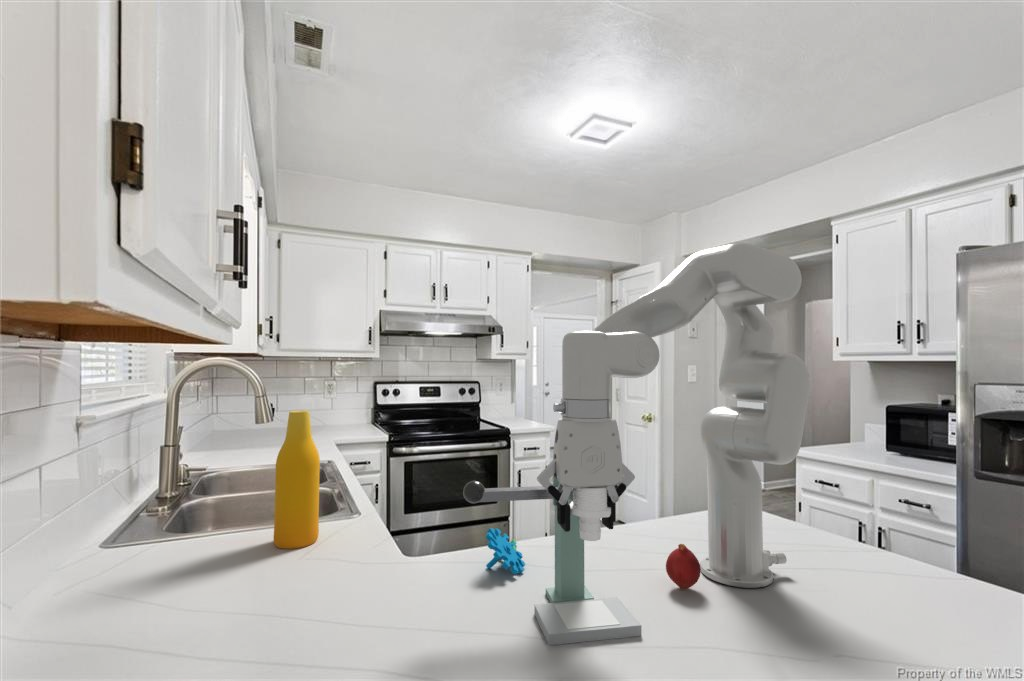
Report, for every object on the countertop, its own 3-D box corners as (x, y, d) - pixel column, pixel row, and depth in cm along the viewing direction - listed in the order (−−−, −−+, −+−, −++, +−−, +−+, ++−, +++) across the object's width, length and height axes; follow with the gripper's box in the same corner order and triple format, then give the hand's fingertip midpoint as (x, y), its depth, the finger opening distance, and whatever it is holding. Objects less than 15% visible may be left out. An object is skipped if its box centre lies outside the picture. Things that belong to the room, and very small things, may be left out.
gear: (517, 575, 90) (483, 529, 94) (494, 596, 91) (461, 550, 95) (535, 561, 101) (504, 521, 104) (514, 580, 101) (484, 539, 105)
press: (602, 588, 89) (601, 473, 90) (641, 635, 73) (640, 495, 74) (525, 594, 86) (525, 475, 87) (548, 645, 71) (548, 500, 72)
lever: (577, 495, 88) (576, 474, 88) (583, 500, 84) (583, 479, 84) (462, 500, 84) (462, 478, 84) (464, 506, 81) (464, 483, 81)
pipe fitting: (613, 532, 79) (613, 481, 80) (608, 547, 73) (607, 491, 73) (574, 528, 81) (573, 478, 82) (565, 543, 75) (564, 488, 75)
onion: (676, 579, 93) (675, 535, 93) (706, 589, 89) (705, 543, 89) (660, 589, 89) (659, 543, 89) (691, 600, 85) (690, 551, 85)
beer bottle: (326, 541, 112) (329, 411, 114) (285, 553, 105) (288, 414, 107) (306, 532, 118) (308, 408, 120) (266, 542, 111) (269, 411, 113)
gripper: (538, 413, 73) (537, 539, 72) (648, 412, 76) (649, 532, 75) (527, 409, 80) (526, 523, 79) (628, 408, 83) (629, 517, 82)
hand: (586, 526), depth 77 cm, fingers closed on pipe fitting, 6 cm apart
